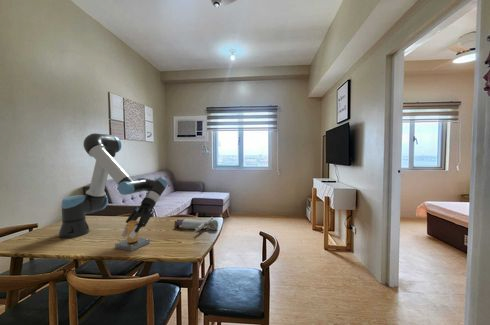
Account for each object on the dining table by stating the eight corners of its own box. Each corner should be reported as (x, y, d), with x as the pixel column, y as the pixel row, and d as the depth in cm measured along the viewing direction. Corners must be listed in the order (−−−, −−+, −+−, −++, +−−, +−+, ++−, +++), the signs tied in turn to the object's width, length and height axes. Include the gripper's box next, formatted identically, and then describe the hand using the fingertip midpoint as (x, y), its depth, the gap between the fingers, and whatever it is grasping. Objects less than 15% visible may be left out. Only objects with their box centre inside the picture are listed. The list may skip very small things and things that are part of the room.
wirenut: (125, 241, 120) (124, 221, 120) (133, 238, 125) (133, 219, 125) (132, 243, 118) (131, 222, 118) (140, 239, 123) (139, 220, 123)
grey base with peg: (115, 247, 119) (114, 230, 118) (134, 239, 130) (133, 224, 129) (131, 251, 114) (131, 233, 114) (149, 242, 125) (149, 226, 125)
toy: (164, 234, 138) (209, 238, 132) (164, 224, 138) (209, 227, 132) (186, 221, 167) (224, 223, 161) (186, 212, 167) (224, 214, 161)
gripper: (165, 205, 132) (143, 242, 117) (142, 202, 139) (119, 237, 124) (158, 197, 127) (135, 236, 112) (135, 195, 134) (110, 231, 119)
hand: (126, 236), depth 118 cm, fingers closed on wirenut, 5 cm apart
